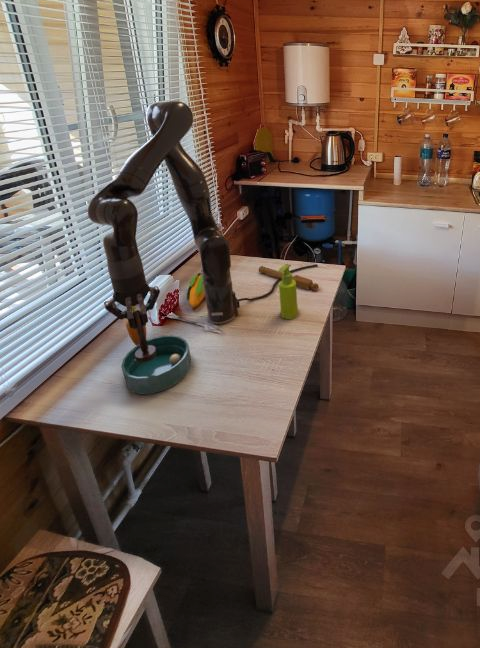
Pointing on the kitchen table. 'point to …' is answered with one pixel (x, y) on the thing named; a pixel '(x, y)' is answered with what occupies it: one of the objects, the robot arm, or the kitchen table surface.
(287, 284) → the soap dispenser
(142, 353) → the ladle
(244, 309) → the kitchen table surface
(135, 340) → the carrot
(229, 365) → the kitchen table surface
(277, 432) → the kitchen table surface
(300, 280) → the rolling pin
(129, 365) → the bowl
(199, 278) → the corn
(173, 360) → the bead
